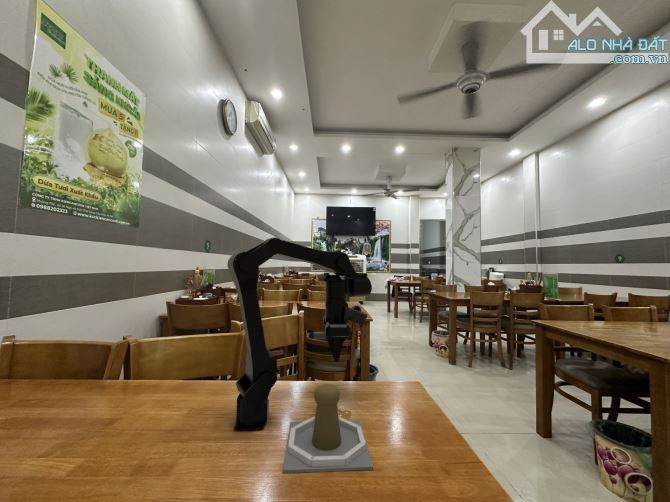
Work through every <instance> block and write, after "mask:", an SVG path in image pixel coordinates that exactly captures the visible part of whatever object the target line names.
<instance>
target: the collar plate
mask: <svg viewBox="0 0 670 502" xmlns="http://www.w3.org/2000/svg"><path fill="white" fill-rule="evenodd" d="M338 417H339V425H340V434H341V445H340V446H339V447H338V448H336V449H334V450H329V451H323V450H319V449H317V448H315V447H314V446H313V445H312V437H313V430H314V422H315V416H312V417H309V418H308V419H306V420H304V421H291V422H290V423H289V424H290V425H289V428H288V429H289V430H288V434H287V435H288V437H287V443H286V449H285V455H284V460H283V466H282V474H295V473H296V474H299V473H318V472H319V473H321V472H323V473H325V472H343V471H344V472H345V471H348V472H349V471H352V472H353V471H372V470H374V464H373V461H372V457H371V454H370V450H369V448H368V447H369V446H368V443H367V441H366V437H365V433H364V430H363V426H362V423H361V420H360V419H357V420H356V419H354V420H352V419H351V420H350V419H349V420H347V419H346V418H344V417H341V416H338Z"/></svg>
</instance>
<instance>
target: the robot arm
mask: <svg viewBox="0 0 670 502" xmlns="http://www.w3.org/2000/svg"><path fill="white" fill-rule="evenodd" d="M275 255H276V256H279V257H282V258H283V257H284V258H286V259H290V260H295V261H298V262H299V261H300V262H304V263H307V264H312V265H314V266H316V267H317V268H318V269H320V270H322V271H325V272H324V273H323V274H322V275H321V276H320V277H319V278H318V282H323V283H324V282H325V300H324V303H325V304H324V305H325V314H324V316H323V327H324V336H325V339H326V342H327V344H328V345H327V346H328V347H329V349H330V350H329V351H330V352H331V355H332V358H333V360H334V362H335V363H336V362H340V357H341V353H342V350H343V345H344V342H345V341H346V340H348V339H350V337H351V336H352V330H351V328H352V327H351V326H350V324H348V323H349V321H350V322H353V323H355V324H358V325H359V326H361V327H364V326H365V323H366V321H367V318H368V313H366V312H364V311H362V308H361V307H360V306H359V305H353V306H352V307H350V306H349V303H348V301H347V296H348V297H349V298H358V297H359V298H360V297H369V296H370V295H371V293H372V291H373V285H372V282H371V280H370V278H369V277H368V273H367V272H359V273H358V272H357V270H355V268H354V266H353V265H352V263H351V261H350V257H349V255H348V253H346V252H344V251H336V250H334V251H333V250H332V251H331V250H320V249H316V248H312V247H309V246H306V245H301V244H297V243H294V242H290V241H288V240H284V239H280V238H279V237H276V236H274V237H270V238H266V239H265V240H264V241H263V242H261V243H259V244H258V245H256V246H254V247H252V248H249V250H247V251H241V252H236V253H234V254H232V255H231V256H230V257H229V258H228V260H227V270H228V272H229V275H230V278H231V280H232V283H233V284H234V287H235V289H236V291H237V295H238V301H239V306H240V313H241V318H242V324H243V329H244V330H243V331H244V336H245V342H246V349H247V351H246V356H245V357H246V358H245V371H244V373H243V374H242V375H241V376H240V377H239V379H238V380H237V381H236V382H235V386H236V389H237V391H238V392H239V393H238V396H237V397H236V409H235V410H236V414H235V417H236V418H235V424H234V426H233V430H234V431H257V430H258V431H260V430H264V428H265V427H266V426H265V425H266V423H267V422H268V420H269V417H270V400H269V396H270V393H271V390H272V388H273V387H274V386H275V384H276V383H277V381H278V374H279V373H280V370H279V369H278V360H277V355H276V354H275V353H274V352H272V351H271V350H270V349H267V344H266V338H265V332H264V326H263V321H262V315H261V307H260V302H259V297H258V283H259V278H260V266H262V265H263V264H264V263H267V261H269V260H270V259H272V258H273V257H274V256H275ZM332 273H333V274H332ZM342 277H344V278H342Z"/></svg>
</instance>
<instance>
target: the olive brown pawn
mask: <svg viewBox="0 0 670 502" xmlns="http://www.w3.org/2000/svg"><path fill="white" fill-rule="evenodd" d="M313 396H314V397H313V398H314V401H315V403H316V408H315V414H314V415H315V416H314V417H315V422H314V430H313V437H312V445H313V446H314V447H315V448H317V449H319V450H323V451H329V450H334V449H336V448H338V447H339V446H340V445H341V434H340V425H339V417H340V416H339V408H338V402H339V400H340V389H339V388H338V386H336V385H334V384H331V383H324V384H323V383H322V384H320V385H318V386H317V387H316V388H315V391H314V395H313Z"/></svg>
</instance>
